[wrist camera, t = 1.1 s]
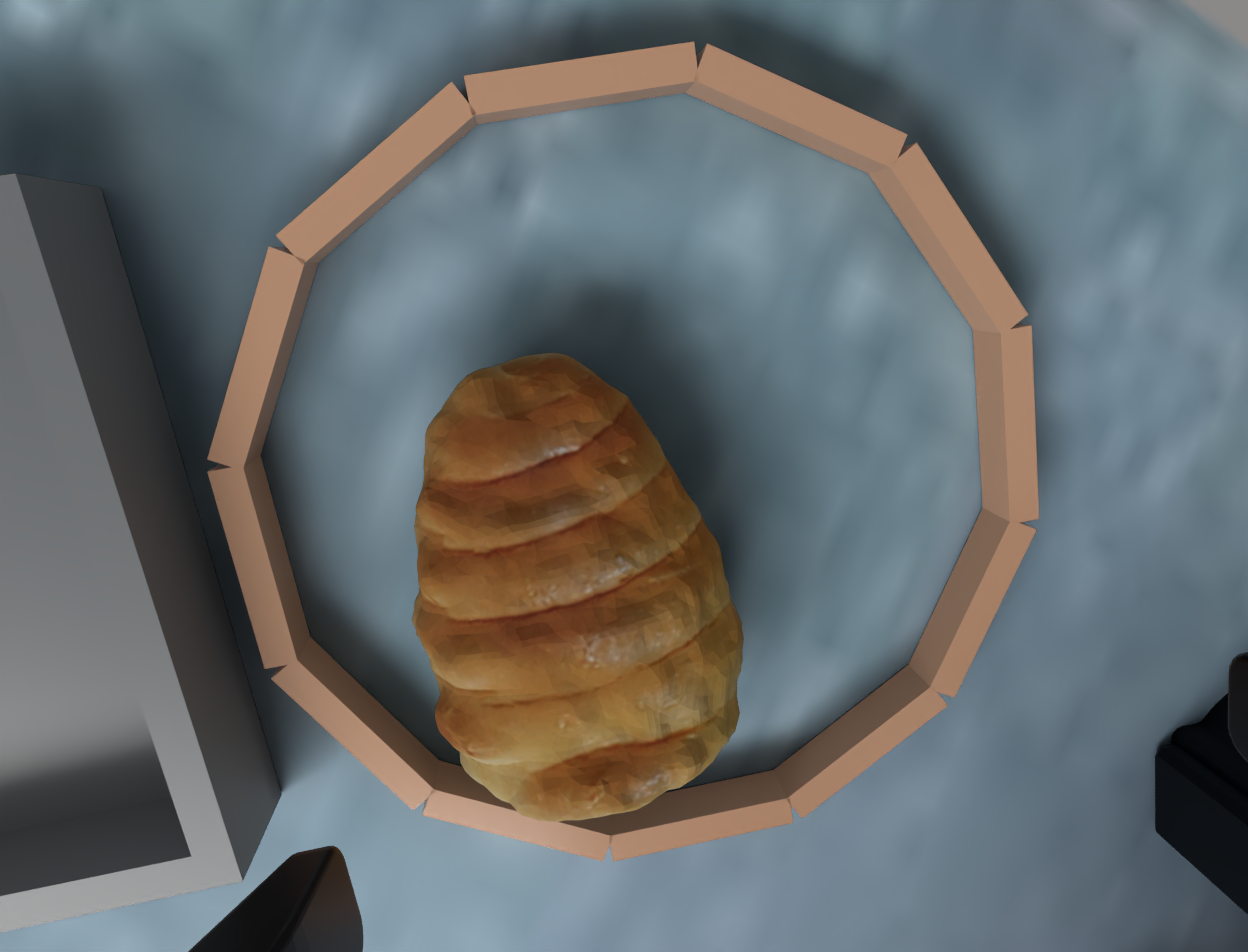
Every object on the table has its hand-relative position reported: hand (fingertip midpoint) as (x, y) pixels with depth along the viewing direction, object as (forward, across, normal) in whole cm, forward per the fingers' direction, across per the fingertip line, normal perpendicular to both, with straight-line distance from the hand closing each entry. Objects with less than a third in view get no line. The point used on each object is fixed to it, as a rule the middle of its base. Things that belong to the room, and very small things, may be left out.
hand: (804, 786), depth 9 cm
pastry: (+13, 0, 0) cm, 13 cm away
